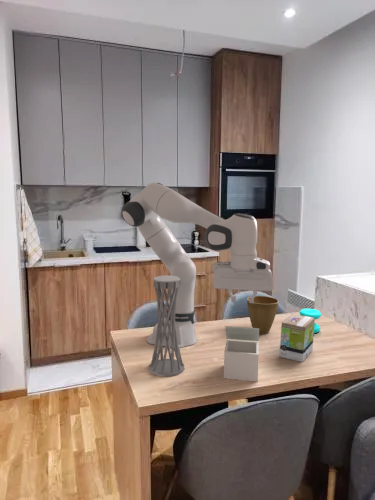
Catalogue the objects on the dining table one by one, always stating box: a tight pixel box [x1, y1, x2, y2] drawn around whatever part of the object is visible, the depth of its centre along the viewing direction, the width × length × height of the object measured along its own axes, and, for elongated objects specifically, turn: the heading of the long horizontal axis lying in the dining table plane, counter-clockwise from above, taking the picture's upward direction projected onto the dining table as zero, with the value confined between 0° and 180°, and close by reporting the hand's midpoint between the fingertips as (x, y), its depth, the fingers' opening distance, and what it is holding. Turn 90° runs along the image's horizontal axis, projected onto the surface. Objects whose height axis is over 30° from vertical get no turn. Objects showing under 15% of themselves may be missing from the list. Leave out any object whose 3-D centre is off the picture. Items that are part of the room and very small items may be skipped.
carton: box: [223, 339, 260, 382], centre depth 141 cm, size 12×12×10 cm
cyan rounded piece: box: [299, 308, 322, 334], centre depth 187 cm, size 10×10×10 cm
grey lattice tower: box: [148, 275, 185, 378], centre depth 143 cm, size 14×13×35 cm
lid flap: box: [224, 325, 260, 342], centre depth 142 cm, size 12×12×1 cm
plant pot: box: [246, 295, 279, 335], centre depth 184 cm, size 15×15×16 cm
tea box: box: [279, 313, 316, 363], centre depth 159 cm, size 15×10×15 cm
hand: (242, 302), depth 130 cm, fingers open, 5 cm apart
